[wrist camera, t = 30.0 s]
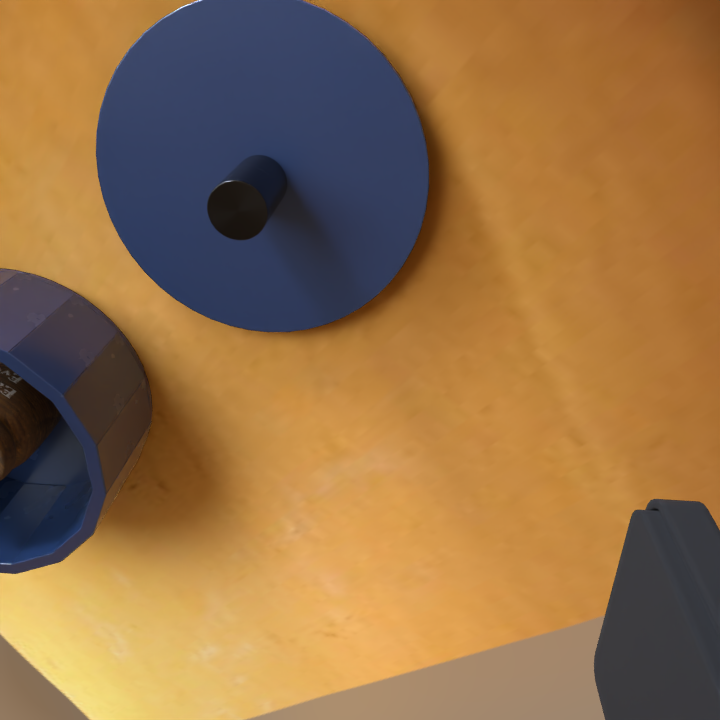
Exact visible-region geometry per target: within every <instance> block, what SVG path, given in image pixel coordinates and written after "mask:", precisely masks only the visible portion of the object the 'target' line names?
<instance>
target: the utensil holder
mask: <svg viewBox="0 0 720 720" xmlns="http://www.w3.org/2000/svg"><path fill="white" fill-rule="evenodd" d="M61 417H62V415H61V414H60V412H59V411H58V409H57V408H56V406H55V405H54V403H53V402H52V401H51V400H49V399H48V398H47V397H46V396H44V395H43V394H42V393H40V392H39V391H38V390H37V389H35V388H34V387H33V386H31V385H30V384H29V383H28V382H26V381H25V380H24V379H22V378H21V377H20V376H19V375H17V374H16V373H15V372H13V371H12V370H11V369H10V368H8V367H7V366H6V365H4V364H3V363H1V362H0V481H1V480H2V479H3V478H5V477H6V476H7V475H8V474H9V473H10V472H11V470H12V469H14V468H16V467H18V466H19V465H21V464H22V463H24V462H25V461H26V460H27V459H28V458H29V457H30V456H31V455H32V454H33V453H34V452H35V451H36V450H37V449H38V447H39V446H40V445H41V444H42V443H43V441H44V440H45V439H46V438H47V437H48V435H49V434H50V433H51V432H52V430H53V429H54V428H55V426H56V425H57V424H58V422H59V420H60V419H61Z"/></svg>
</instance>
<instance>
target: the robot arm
mask: <svg viewBox="0 0 720 720" xmlns="http://www.w3.org/2000/svg"><path fill="white" fill-rule="evenodd" d="M594 673H595V681H596V686H597V689H598V693H599V697H600V701H601V705H602V709H603V713H604V716H605V720H720V530H719V528H718V527H717V525H716V523H715V521H714V520H713V518H712V516H711V514H710V512H709V511H708V509H707V508H706V507H705V505H704V504H702V503H701V502H696V501H680V500H663V499H653V500H651V501H650V502H649V503H648V505H647V507H646V510H635V511H634V512H633V514H632V516H631V519H630V523H629V527H628V531H627V534H626V538H625V542H624V546H623V550H622V553H621V557H620V561H619V565H618V568H617V572H616V576H615V580H614V584H613V587H612V591H611V595H610V599H609V603H608V606H607V610H606V614H605V618H604V622H603V626H602V629H601V633H600V637H599V641H598V644H597V648H596V652H595V659H594Z"/></svg>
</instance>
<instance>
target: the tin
mask: <svg viewBox="0 0 720 720" xmlns="http://www.w3.org/2000/svg"><path fill="white" fill-rule="evenodd" d="M0 362H1V363H3V364H4V365H6V366H7V367H8V368H10V369H11V370H12V371H13V372H15V373H16V374H17V375H19V376H20V377H21V378H22V379H24V380H25V381H26V382H28V383H29V384H30V385H31V386H33V387H34V388H35V389H37V390H38V391H39V392H40V393H42V394H43V395H44V396H46V397H47V398H48V399H49V400H51V401H52V402H53V403H54V405H55V406H56V408H57V409H58V411H59V412H60V414H61V415H62V417H61V419H60V420H59V422H58V424H57V425H56V426H55V428H54V429H53V430H52V432H51V433H50V434H49V435H48V437H47V438H46V439H45V440H44V441H43V443H42V444H41V445H40V446H39V447H38V449H37V450H36V451H35V452H34V453H33V454H32V455H31V456H30V457H29V458H28V459H27V460H26V461H25V462H24V463H22V464H21V465H19V466H18V467H16V468H14V469H12V470H11V472H10V473H9V474H8V475H7V476H6V477H5V478H3V479H2V480H1V481H0V573H10V574H16V573H17V574H18V573H21V572H25V571H29V570H33V569H36V568H40V567H44V566H47V565H51V564H55V563H59V562H61V561H63V560H64V559H65V558H66V557H68V556H69V555H70V554H71V553H72V552H73V551H75V550H76V549H77V548H78V547H79V546H80V545H81V544H83V543H84V542H85V541H86V540H87V539H88V538H90V537H91V536H92V535H93V534H94V533H95V531H96V529H97V528H98V526H99V524H100V522H101V521H102V519H103V517H104V516H105V514H106V512H107V511H108V509H109V507H110V506H111V504H112V502H113V501H114V499H115V497H116V496H117V494H118V492H119V491H120V489H121V487H122V486H123V484H124V482H125V481H126V479H127V477H128V476H129V474H130V472H131V471H132V469H133V467H134V466H135V464H136V462H137V460H138V459H139V457H140V454H141V451H142V448H143V446H144V443H145V441H146V439H147V437H148V433H149V430H150V426H151V422H152V421H151V419H152V398H151V392H150V387H149V382H148V379H147V376H146V373H145V371H144V368H143V365H142V363H141V361H140V360H139V358H138V356H137V354H136V352H135V350H134V349H133V347H132V346H131V344H130V343H129V341H128V340H127V338H126V337H125V336H124V334H123V333H122V332H121V331H120V330H119V329H118V327H117V326H116V325H115V324H114V323H113V322H112V321H111V320H110V319H109V318H108V317H107V316H106V315H105V314H104V313H103V312H102V311H100V310H99V309H98V308H97V307H95V306H94V305H93V304H91V303H90V302H89V301H87V300H86V299H85V298H83V297H81V296H80V295H78V294H77V293H75V292H73V291H72V290H70V289H68V288H66V287H64V286H62V285H60V284H58V283H56V282H54V281H51V280H49V279H46V278H43V277H40V276H37V275H34V274H30V273H26V272H22V271H17V270H10V269H1V268H0Z"/></svg>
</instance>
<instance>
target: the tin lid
mask: <svg viewBox="0 0 720 720" xmlns="http://www.w3.org/2000/svg"><path fill="white" fill-rule="evenodd" d="M96 159H97V169H98V177H99V182H100V186H101V191H102V195H103V199H104V202H105V205H106V207H107V210H108V213H109V216H110V218H111V221H112V223H113V225H114V227H115V229H116V231H117V233H118V235H119V237H120V239H121V240H122V242H123V243H124V245H125V246H126V248H127V249H128V251H129V253H130V254H131V256H132V257H133V258H134V259H135V261H136V262H137V263H138V264H139V266H140V267H141V268H142V269H143V270H144V272H145V273H146V274H147V275H148V276H149V277H150V278H151V279H152V280H153V281H154V282H155V283H156V284H157V285H158V286H159V287H161V288H162V289H163V290H164V291H166V292H167V293H168V294H169V295H171V296H172V297H173V298H175V299H176V300H177V301H179V302H181V303H182V304H184V305H185V306H187V307H189V308H190V309H192V310H193V311H196V312H198V313H200V314H202V315H204V316H206V317H208V318H210V319H212V320H215V321H218V322H221V323H224V324H227V325H230V326H234V327H238V328H243V329H247V330H254V331H263V332H291V331H299V330H306V329H310V328H314V327H318V326H322V325H326V324H328V323H331V322H333V321H336V320H338V319H341V318H343V317H345V316H347V315H349V314H350V313H352V312H354V311H356V310H357V309H359V308H361V307H362V306H364V305H365V304H366V303H368V302H369V301H370V300H372V299H373V298H374V297H376V296H377V295H378V294H379V293H380V292H381V291H382V290H383V289H384V288H385V287H386V286H387V285H388V284H389V283H390V282H391V281H392V279H393V278H394V277H395V275H396V274H397V273H398V272H399V270H400V269H401V268H402V266H403V265H404V263H405V261H406V260H407V258H408V256H409V254H410V253H411V251H412V249H413V247H414V245H415V242H416V240H417V237H418V235H419V233H420V230H421V227H422V223H423V219H424V216H425V212H426V207H427V199H428V192H429V160H428V152H427V145H426V139H425V135H424V131H423V128H422V124H421V120H420V117H419V114H418V112H417V109H416V107H415V105H414V102H413V100H412V97H411V95H410V93H409V92H408V90H407V88H406V86H405V85H404V83H403V81H402V79H401V78H400V76H399V74H398V73H397V71H396V70H395V69H394V68H393V66H392V65H391V64H390V62H389V61H388V60H387V58H386V57H385V56H384V54H383V53H382V52H381V51H380V50H379V49H378V48H377V47H376V46H375V45H374V44H373V43H372V42H371V41H370V40H369V39H368V38H367V37H366V36H364V35H363V34H362V33H360V32H359V31H358V30H357V29H355V28H354V27H353V26H351V25H350V24H349V23H348V22H346V21H344V20H343V19H341V18H339V17H337V16H336V15H334V14H332V13H330V12H329V11H327V10H325V9H323V8H320V7H318V6H315V5H313V4H310V3H308V2H306V1H303V0H198V1H196V2H193V3H190V4H188V5H185V6H182V7H181V8H179V9H177V10H175V11H174V12H172V13H170V14H168V15H167V16H165V17H163V18H162V19H160V20H159V21H158V22H157V23H155V24H154V25H153V26H152V27H150V28H149V29H148V30H147V31H145V32H144V33H143V34H142V35H141V37H140V38H139V39H138V40H137V41H136V42H135V43H134V44H133V45H132V46H131V48H130V49H129V50H128V51H127V53H126V54H125V56H124V57H123V59H122V60H121V62H120V63H119V65H118V66H117V68H116V70H115V72H114V74H113V76H112V78H111V81H110V83H109V85H108V87H107V89H106V93H105V96H104V99H103V102H102V106H101V109H100V114H99V120H98V127H97V137H96Z"/></svg>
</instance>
